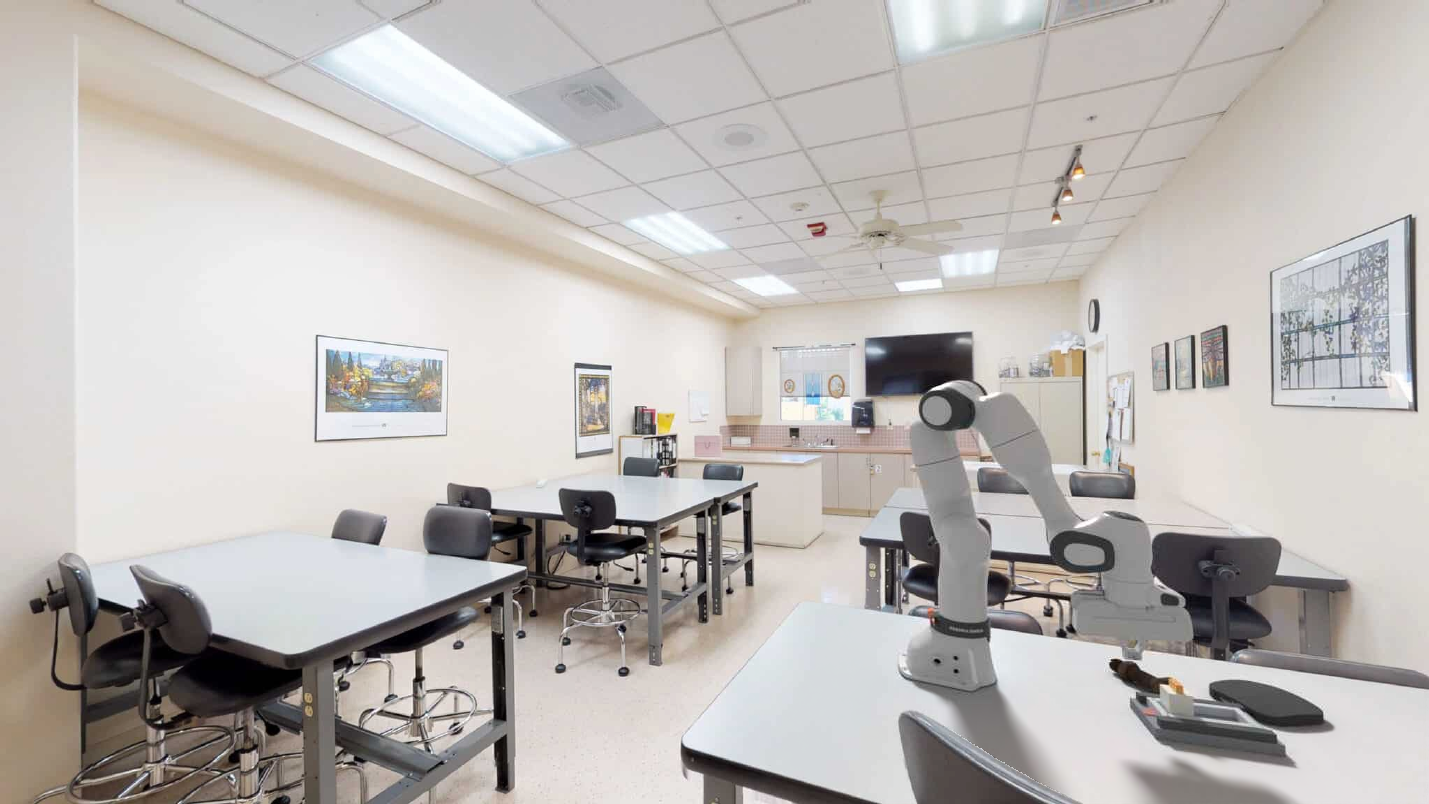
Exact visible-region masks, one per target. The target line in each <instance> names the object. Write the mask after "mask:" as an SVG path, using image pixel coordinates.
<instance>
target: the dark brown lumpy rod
mask: <svg viewBox="0 0 1429 804" xmlns="http://www.w3.org/2000/svg"><path fill="white" fill-rule="evenodd" d="M1108 666H1109V669H1110V670H1112V671H1113V672H1115V673H1116V674H1119V677H1120V678H1121V679H1122V680H1123V681H1124V682H1127V683H1136V684H1138V685H1140V686H1141V687H1144V688H1146V689H1148V690H1150V691H1152V692H1153V694H1160V684H1163V685H1169V678H1170V679H1174V678H1173V677H1171V676H1166V677H1156V676H1155V675H1152V674H1151V673H1149V672H1147V671H1145V670H1142V669H1141V668H1140V667H1139V665H1138V664H1137V663H1136V662H1135V661H1134V660H1122V659H1119V658H1111V659H1110V661H1109V663H1108Z"/></svg>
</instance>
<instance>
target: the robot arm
mask: <svg viewBox="0 0 1429 804" xmlns="http://www.w3.org/2000/svg"><path fill="white" fill-rule="evenodd" d="M918 415H919V417H920V418H917V419H916V420H915V421H914V422H913V423H911V425H910V426H909V428H908V439H909V447H910V452H911V456H912V460H913V464H914V468H915V470H916V473H917V477H918V480H919V483H920V487H921V489H922V493H923V497H924V501H925V506H926V509H927V512H928V516H929V520H930V523H931V527H932V531H933V534H934V537H935V539H936V541H937V543H938V545H939V569H938V570H939V571H938V578H937V595H938V596H937V597H938V598H937V599H938V602H937V603H938V604H937V605H938V610H935V608H932V607H931V608H929V607H928V609H927V610H926V612H927V616H928V618H929V623H930V625H929V626H927V627H925V628H924V629H922V630H920V631H919V632H917V633H915V634H913V635H912V636H911V638H910V640H909V642H908V645H907V650H905V651H904V652H903V651H902V653H900V655H899V656H898V661H897V667H898V671H899V672H900V674H901V675H903V676H904V678H907V679H909V680H914V681H919V682H925V683H930V684H934V685H939V686H943V687H948V688H953V689H958V690H964V691H968V692H973V691H976V690H977V689H980V688H981V687H987V686H990V685H992V684H995V683H996V682H997V680H998V678H997V677H998V676H997V674H996V670H995V668H994V664H993V659H992V653H991V647H990V642H991V638H992V637H991V636H992V635H991V634H992V632H991V630H992V629H991V627H992V626H991V621H990V617H989V615H988V614H989V613H988V579H989V573H990V564H991V553H992V539H991V536H990V535H991V534H990V533H989V531H988V529H987V528H986V527H985V526H984V525H983V524H981V523H980V521H979V519H978V516H977V514H976V510H975V505H974V501H973V497H972V491H971V484H970V481H969V478H968V474H967V471H966V468H965V464H964V461H963V458H962V456H961V455H962V454H961V452H960V449H959V446H958V442H957V439H956V438H957V432H958V431H960V430H961V431H962V430H968V429H969V428H972V429H975V430H977V431H978V432H979V433H980V435H981V436H982V438H983V440H984V442H985V443H986V445H987V447H988V449H989V451H990V453H991V454H992V456H993V458H994V459H995V461H996V462H997V464H998V465H999V466H1000V467H1001V469H1002V470H1003V471H1004V472H1005V473H1006V475H1008V476H1009V477H1011V478H1012V479H1014V480H1015V481H1017V482H1018V483H1019V484H1020V485H1022V486H1023V487H1024V488H1025V490H1026V491H1027V492H1028V494H1029V495H1030V497H1031V499H1032V501H1033V503H1034V504H1035V507H1036V508H1037V511H1039V514H1040V516H1041V517H1042V519H1043V521H1044V524H1045V534H1046V536H1045V538H1046V542H1047V543H1046V544H1047V545H1048V550H1049V554H1050V557H1051V559H1052V561H1053V562H1054V563H1055V565H1056V566H1058V567H1059V569H1062V570H1064V571H1066V572H1068V573H1072V574H1079V575H1082V574H1098V573H1099V574H1100V579H1101V589H1087V588H1078V589H1077V590H1075V591H1073V592H1072V593H1071V595H1070V604H1071V605H1070V606H1071V607H1072V608H1073V609H1072V618H1071V620H1072V621H1071V622H1072V623H1071V624H1072V627H1073V628H1074V630H1075V631H1076V632H1077V633H1078V634H1079V635H1081V636H1087V637H1088V636H1089V637H1090V636H1091V637H1103V638H1114V640H1115V641H1116V643H1117V644H1118V645H1119V647H1120V648H1121V653H1122V657H1123V659H1125V660H1126V661H1143V653H1144V651H1145V650H1146V648H1147V647H1148V646H1149V641H1161V642H1172V643H1173V642H1175V643H1176V642H1177V643H1190V642H1192V640H1193V639H1194V630H1193V623H1192V618H1191V615H1190V613H1189V611H1188V610H1187V609H1186V608H1184V607H1185V606H1186V599H1185V597H1184V596H1183V595H1181V594H1180V593H1178V591H1176V590H1174V589H1172V588H1170V587H1168V586H1165V585H1161V584H1158V583H1155V579H1154V577H1155V576H1154V575H1153V572H1152V563H1153V558H1154V557H1153V546H1152V540H1151V534H1150V530H1149V527H1148V524H1147V523H1146V522H1145V521H1144V520H1143V519H1141V518H1139V516H1136V515H1134V514H1130V513H1126V512H1122V511H1117V510H1106V511H1105V510H1104V511H1102V512H1101V513H1100V514H1098V515H1096V516H1094V517H1092V518H1090V519H1087V520H1084V519H1083V518H1081V517H1080V516H1079V515H1077V514H1076V513H1075V511H1074V510H1073V508H1072V507H1071V505H1070V503H1069V501H1068V500H1067V498H1066V497H1065V495H1064V493H1063V491H1062V490H1061V488H1060V486H1059V484H1058V483H1057V481H1056V478H1055V476H1054V475H1055V474H1054V472H1053V465H1052V456H1051V453H1050V450H1049V447H1048V444H1047V442H1046V439H1045V437H1044V435H1043V433H1042V431H1041V429H1040V428H1039V426H1038V425H1037V423H1036V421H1035V420H1034V418H1033V417H1032V416H1031V414H1030V413H1029V411H1028V410H1027V408H1026V407H1025V406H1024V405H1023V404H1022V402H1021V401H1020V400H1019V399H1018V397H1016V396H1015V394H1013V393H1010V392H1008V391H997V392H996V391H995V392H992V393H990V394H988V392H987V390H986V389H985V387H984V386H983V385H982V384H980V383H978V382H977V381H974V380H971V379H958V380H951V381H946V382H945V383H942V384H941V385H938V386H935V387H932V388H931V389H929V390H928V391H926V392H925V393H924V394H923V396H922V397H921V399H920V400H919V404H918ZM1127 639H1132V640H1135V641H1137V643H1136V645H1135V646H1134V648H1128V647H1127V646H1126V645H1125V644H1127Z"/></svg>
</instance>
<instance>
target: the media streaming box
mask: <svg viewBox="0 0 1429 804" xmlns="http://www.w3.org/2000/svg"><path fill="white" fill-rule="evenodd" d="M1208 694H1209V696H1210V697H1211V698H1212V699H1213V700H1214V701H1220V702H1228V703H1236V704H1241V705H1242V706H1243V707H1244V708H1245V712H1246V713H1247V714H1249V715H1250V716H1251V717H1252V718H1253V719H1254V720H1256V721H1257V722H1258V723H1260V724H1261V723H1262V724H1263V725H1268V726H1273V727H1281V728H1283V727H1285V728H1287V727H1307V726H1308V727H1309V726H1310V727H1311V726H1320V725H1323V724H1324V721H1325V720H1324V719H1325V718H1324V711H1323V709H1321V708H1320V707H1319V706H1317V705H1316V704H1314V703H1312V702H1311V701H1309V700H1307V699H1305V698H1303V697H1301V696H1299V695H1297V694H1296V693H1293V692H1290V691H1287V690H1285V689H1282V688H1279V687H1276V686H1273V685H1271V684H1265V683H1261V682H1257V681H1254V680H1253V681H1252V680H1247V679H1245V680H1244V679H1222V680H1216V681H1212V682H1210V683H1209V684H1208Z"/></svg>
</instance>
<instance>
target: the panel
mask: <svg viewBox="0 0 1429 804" xmlns="http://www.w3.org/2000/svg"><path fill="white" fill-rule="evenodd" d="M1193 702H1194V717H1192V716H1184V715H1176V714H1168V713H1167V712H1166V711H1165V710H1164V709H1163V708H1162V707H1161V706H1160V694H1155V693H1151V692H1150V693H1149V692H1141V691H1135V698H1133V697H1129V707H1130V710H1132V712H1133V713H1134V714H1135V715H1136V717H1138V719H1139V720H1140V721H1141V722H1142V724H1143V725H1144V727H1145V728H1146V729H1147V730H1148V731H1149V732H1150V734H1151V735H1152V736H1153V738H1154V739H1156V740H1162V741H1168V742H1169V741H1171V742H1176V743H1177V742H1179V743H1184V744H1193V745H1199V746H1206V747H1211V748H1212V747H1215V748H1220V749H1228V750H1235V751H1243V752H1249V753H1255V754H1256V753H1258V754H1264V755H1265V754H1266V755H1271V756H1279V757H1286V756H1287V755H1286V745H1285V743H1283V742H1281V741H1280V740H1279V738H1278V735H1277V734H1276V733H1275V732H1274V731H1273V730H1271V729H1267V728H1266V727H1265V726H1264V725H1262V724H1261V723H1260V722H1258V721H1256V720H1254V719H1253V718H1252V717H1251V716H1250V715H1249V714H1247V713H1246V712H1245V708H1244V707H1243V706H1242V705H1241V704H1236V703H1228V702H1220V701H1217V700H1208V699H1203V698H1202V699H1200V698H1194V697H1193Z"/></svg>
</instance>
